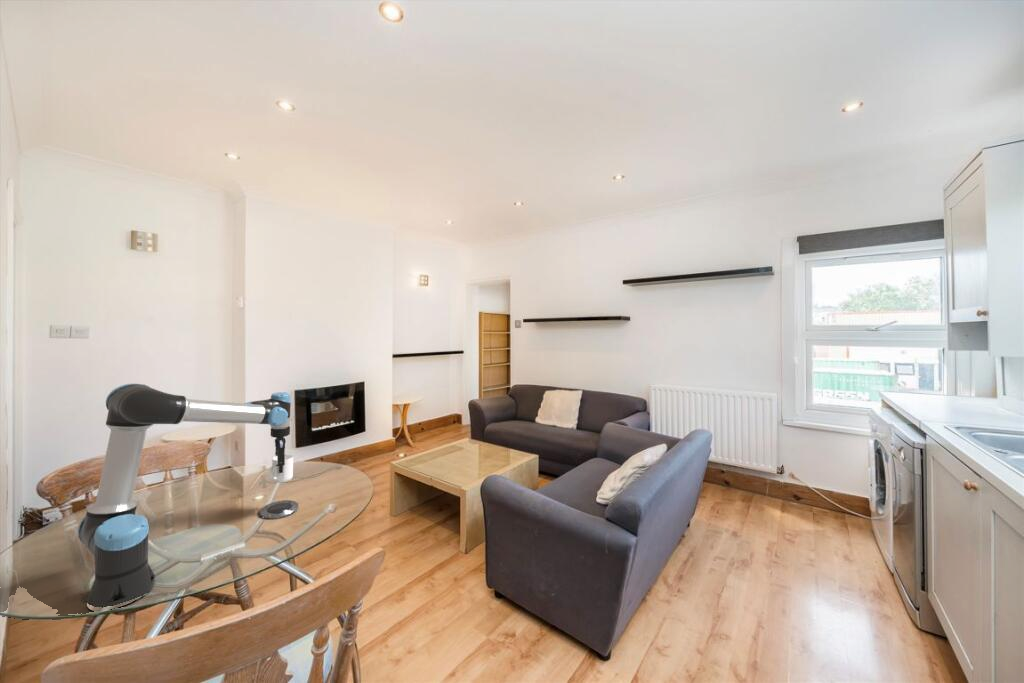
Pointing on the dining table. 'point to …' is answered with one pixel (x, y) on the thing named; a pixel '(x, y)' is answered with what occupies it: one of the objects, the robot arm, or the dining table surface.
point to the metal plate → (279, 509)
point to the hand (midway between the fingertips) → (279, 474)
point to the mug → (287, 469)
